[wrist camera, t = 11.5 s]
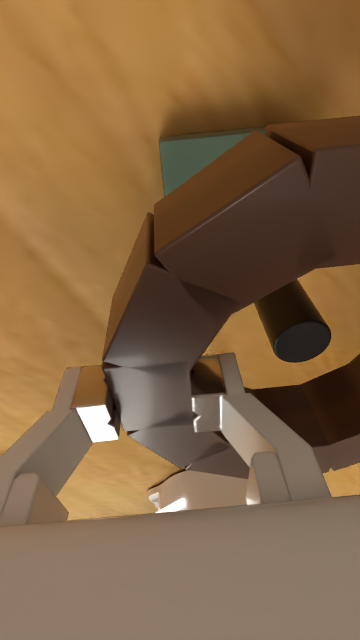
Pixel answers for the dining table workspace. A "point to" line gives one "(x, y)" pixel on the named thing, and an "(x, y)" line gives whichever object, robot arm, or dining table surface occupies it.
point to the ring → (237, 289)
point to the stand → (284, 303)
